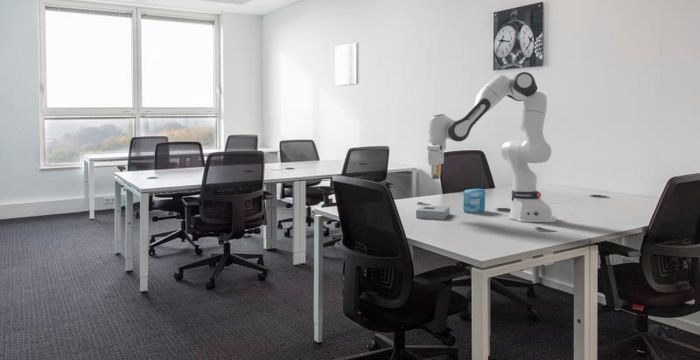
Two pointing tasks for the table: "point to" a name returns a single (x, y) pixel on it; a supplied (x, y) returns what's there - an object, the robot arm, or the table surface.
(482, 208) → the data package
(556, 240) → the table surface
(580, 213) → the table surface
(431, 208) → the socket box
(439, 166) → the plug
